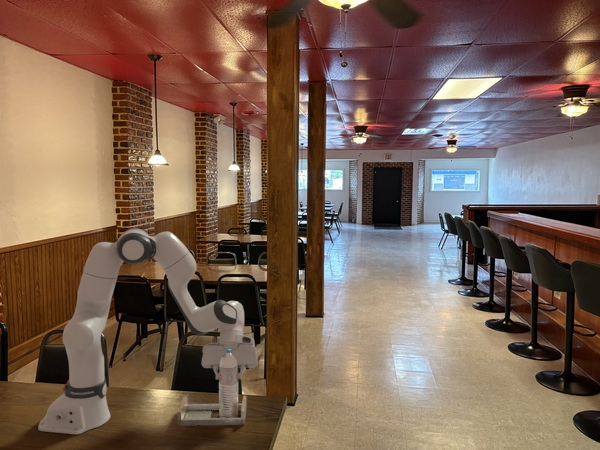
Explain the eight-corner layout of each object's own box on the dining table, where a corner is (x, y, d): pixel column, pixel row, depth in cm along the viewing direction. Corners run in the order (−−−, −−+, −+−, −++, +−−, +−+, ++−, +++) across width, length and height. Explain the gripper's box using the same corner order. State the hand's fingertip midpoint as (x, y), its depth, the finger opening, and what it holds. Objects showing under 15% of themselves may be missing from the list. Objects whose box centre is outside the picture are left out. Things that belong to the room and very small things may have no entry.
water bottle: (234, 422, 157) (234, 353, 155) (216, 420, 159) (215, 352, 157) (240, 413, 164) (240, 346, 162) (223, 410, 165) (223, 345, 163)
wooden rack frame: (177, 425, 155) (177, 411, 154) (184, 409, 166) (184, 396, 166) (244, 424, 156) (244, 411, 156) (246, 408, 167) (246, 395, 167)
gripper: (202, 339, 165) (198, 375, 157) (257, 338, 167) (256, 375, 158) (204, 346, 170) (200, 382, 161) (258, 346, 171) (257, 381, 163)
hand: (228, 378), depth 160 cm, fingers closed on water bottle, 6 cm apart
